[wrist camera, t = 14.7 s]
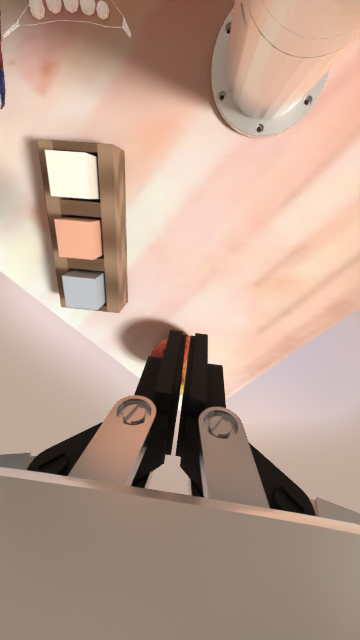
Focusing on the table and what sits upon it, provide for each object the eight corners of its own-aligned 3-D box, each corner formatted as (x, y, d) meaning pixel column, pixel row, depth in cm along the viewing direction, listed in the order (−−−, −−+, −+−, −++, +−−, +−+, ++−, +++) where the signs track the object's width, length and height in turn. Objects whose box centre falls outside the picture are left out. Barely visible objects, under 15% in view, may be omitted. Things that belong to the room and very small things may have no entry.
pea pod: (133, -9, 27) (128, -21, 26) (132, 48, 29) (129, 40, 28) (-2, -16, 28) (-14, -28, 26) (6, 40, 30) (-4, 32, 28)
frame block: (57, 146, 33) (36, 139, 29) (124, 151, 33) (112, 144, 29) (74, 296, 43) (61, 306, 39) (127, 301, 42) (119, 312, 38)
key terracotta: (73, 216, 35) (54, 219, 31) (105, 219, 35) (90, 222, 30) (77, 249, 37) (59, 256, 33) (107, 252, 37) (93, 259, 32)
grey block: (79, 266, 38) (61, 275, 34) (108, 269, 38) (95, 279, 33) (81, 294, 40) (66, 307, 36) (109, 297, 40) (97, 310, 35)
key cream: (67, 156, 32) (44, 149, 28) (102, 159, 32) (85, 152, 27) (71, 196, 34) (51, 196, 30) (104, 198, 34) (88, 198, 29)
